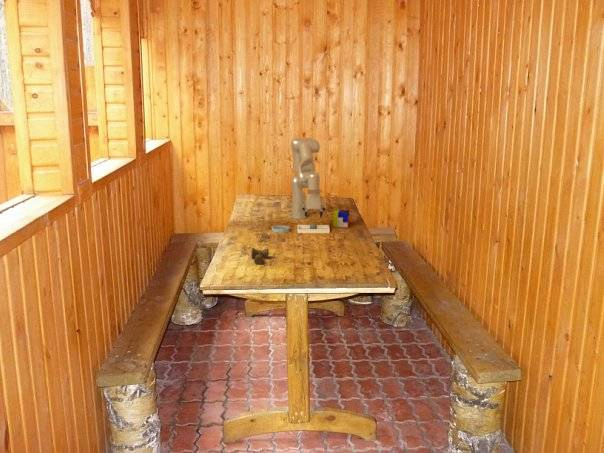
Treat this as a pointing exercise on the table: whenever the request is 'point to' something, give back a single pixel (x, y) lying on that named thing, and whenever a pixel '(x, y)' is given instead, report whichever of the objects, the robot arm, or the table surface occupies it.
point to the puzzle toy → (341, 218)
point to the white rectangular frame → (307, 230)
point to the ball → (313, 226)
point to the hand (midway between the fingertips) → (313, 217)
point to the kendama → (259, 255)
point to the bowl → (280, 229)
